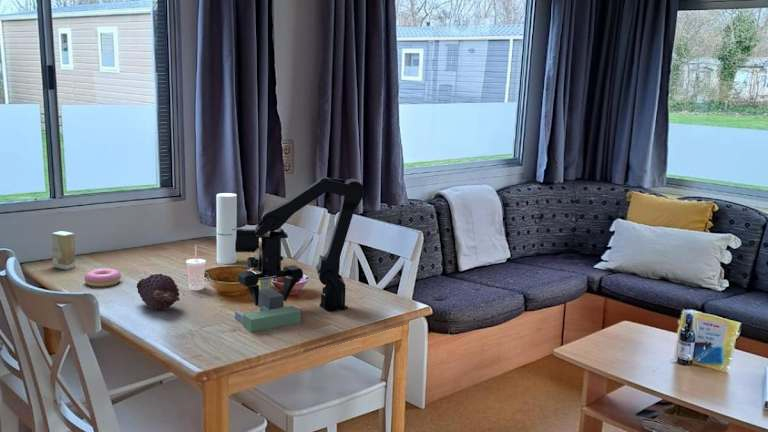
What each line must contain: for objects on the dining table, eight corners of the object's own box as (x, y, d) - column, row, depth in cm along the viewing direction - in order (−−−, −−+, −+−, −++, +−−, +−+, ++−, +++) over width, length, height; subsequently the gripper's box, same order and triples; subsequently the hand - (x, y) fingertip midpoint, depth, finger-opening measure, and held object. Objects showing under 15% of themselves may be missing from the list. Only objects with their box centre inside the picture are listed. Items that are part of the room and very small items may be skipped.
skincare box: (52, 267, 231) (50, 232, 229) (62, 264, 235) (60, 230, 233) (66, 270, 229) (64, 235, 227) (76, 267, 233) (75, 232, 231)
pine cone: (125, 304, 198) (124, 271, 196) (155, 297, 205) (154, 265, 203) (162, 318, 187) (161, 284, 185) (191, 310, 195) (191, 277, 193)
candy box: (271, 288, 219) (272, 242, 216) (259, 290, 216) (260, 243, 213) (260, 281, 226) (261, 237, 223) (248, 283, 224) (249, 238, 221)
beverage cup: (209, 288, 216) (209, 246, 213) (193, 292, 212) (192, 248, 209) (199, 284, 220) (198, 242, 217) (182, 287, 216) (181, 245, 213)
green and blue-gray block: (281, 310, 198) (281, 298, 198) (300, 322, 189) (300, 310, 188) (233, 318, 190) (233, 306, 189) (250, 332, 180) (250, 319, 180)
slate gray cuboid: (271, 304, 204) (271, 288, 203) (283, 311, 198) (283, 295, 197) (257, 306, 202) (257, 290, 201) (269, 314, 195) (269, 297, 194)
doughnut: (76, 284, 215) (76, 271, 214) (105, 276, 224) (104, 264, 224) (100, 290, 210) (100, 277, 209) (128, 282, 219) (128, 269, 219)
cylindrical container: (240, 261, 250) (240, 194, 245) (226, 265, 244) (226, 197, 239) (226, 258, 253) (226, 192, 249) (212, 261, 247) (212, 194, 243)
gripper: (287, 243, 208) (286, 291, 211) (230, 249, 197) (230, 300, 200) (304, 251, 199) (303, 301, 202) (245, 258, 188) (245, 311, 191)
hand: (270, 303), depth 199 cm, fingers open, 9 cm apart
